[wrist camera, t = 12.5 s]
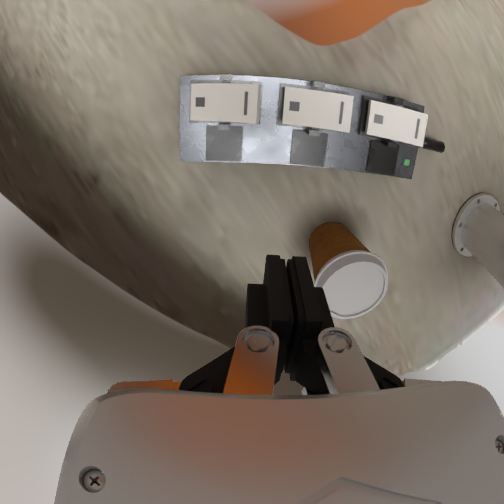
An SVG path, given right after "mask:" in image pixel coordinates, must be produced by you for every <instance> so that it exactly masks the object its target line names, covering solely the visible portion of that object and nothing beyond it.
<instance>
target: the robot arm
mask: <svg viewBox="0 0 504 504" xmlns="http://www.w3.org/2000/svg"><path fill="white" fill-rule="evenodd" d="M452 239H453V244H454V247H455V249H456V250H457V251H458V252H459V253H460V254H461V255H463V256H466V257H471V256H474V257H475V258H476V259H477V260H478V261H479V262H480V263H481V264H482V265H483V266H484V267H485V268H486V269H487V270H488V271H489V272H490V274H491V275H492V276H493V277H494V278H495V279H496V280H497V281H498V282H499V283H500V285H501V286H502V287H503V288H504V214H503V213H501V212H500V206H499V203H498V202H497V200H496V199H495V198H494V197H493V196H491V195H490V194H487V193H480V194H477V195H475V196H473V197H472V198H470V199H469V200H468V201H467V202H466V203H465V204H464V205H463V207H462V208H461V210H460V211H459V213H458V215H457V217H456V220H455V223H454V227H453V233H452ZM284 366H285V373H290V380H291V381H297V382H298V383H299V384H301V385H302V386H301V392H302V395H273V388H274V385H275V384H276V383H277V382H278V381H279V380H280V376H281V373H282V371H283V367H284ZM102 472H103V473H102ZM54 504H504V417H503V415H502V413H501V411H500V409H499V407H498V405H497V403H496V401H495V400H494V398H493V396H492V395H491V394H490V392H488V391H487V389H486V388H484V387H482V386H481V385H478V384H475V383H471V382H466V381H465V382H464V381H444V382H442V381H430V380H417V379H404V381H401V380H400V379H399V378H398V377H397V376H396V375H394V374H392V373H391V372H389V371H387V370H386V369H384V368H382V367H381V366H379V365H378V364H376V363H374V362H373V361H371V360H369V359H368V358H366V357H365V356H363V354H362V352H361V350H360V348H359V346H358V344H357V342H356V341H355V339H354V337H353V336H352V335H351V334H350V333H349V332H348V331H346V330H344V329H341V328H337V327H334V323H333V320H332V316H331V313H330V310H329V306H328V303H327V299H326V296H325V293H324V290H323V288H322V287H314V285H313V281H312V277H311V274H310V270H309V266H308V263H307V259H306V257H297V256H293V257H292V259H288V260H287V266H286V265H285V260H284V259H280V256H279V255H267V256H266V264H265V273H264V282H263V284H248V287H247V300H246V321H245V329H243V330H242V331H241V332H240V333H239V335H238V338H237V342H236V345H235V347H233V348H232V349H230V350H229V351H227V352H226V353H224V354H222V355H221V356H219V357H218V358H216V359H214V360H213V361H212V362H210V363H208V364H207V365H205V366H203V367H202V368H200V369H199V370H197V371H195V372H194V373H192V374H191V375H189V376H187V377H186V378H185V379H184V380H183V381H177V382H173V379H169V380H150V381H123V382H118V383H116V384H114V385H112V386H111V388H110V389H109V390H108V393H107V394H104V395H101V396H99V397H97V398H95V399H94V400H92V401H91V402H90V403H89V404H88V405H87V406H86V408H85V409H84V411H83V412H82V414H81V416H80V417H79V419H78V422H77V424H76V426H75V429H74V431H73V434H72V436H71V439H70V441H69V445H68V448H67V451H66V455H65V458H64V461H63V465H62V469H61V473H60V477H59V482H58V487H57V492H56V497H55V503H54Z"/></svg>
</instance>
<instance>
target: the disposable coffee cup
mask: <svg viewBox="0 0 504 504" xmlns="http://www.w3.org/2000/svg"><path fill="white" fill-rule="evenodd" d="M309 245H310V252H311V258H312V265H313V273H314V279H315V283H314V287H322V288H323V290H324V293H325V296H326V299H327V303H328V306H329V310H330V313H331V316H332V317H335V318H339V319H351V318H356V317H359V316H362V315H364V314H366V313H368V312H369V311H371V310H372V309H374V308H375V307H376V306H377V305H378V304H379V303H380V302H381V300H382V299H383V297H384V296H385V293H386V291H387V288H388V271H387V267H386V265H385V263H384V262H383V260H382V259H381V258H379V257H378V256H377V255H375V254H373V253H371V252H370V251H369V250H368V249H367V248H366V247H365V246H364V245H363V244H362V243H361V242H360V241H359V240H358V239H357V238H356V237H355V236H354V235H353V234H352V233H351V232H350V231H349V230H348V229H347V228H346V227H345V226H343V225H342V224H339V223H336V222H330V223H325V224H323V225H321V226H319V227H318V228H317V229H316V230H315V231H314V232H313V233H312V235H311V238H310V242H309Z"/></svg>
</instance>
